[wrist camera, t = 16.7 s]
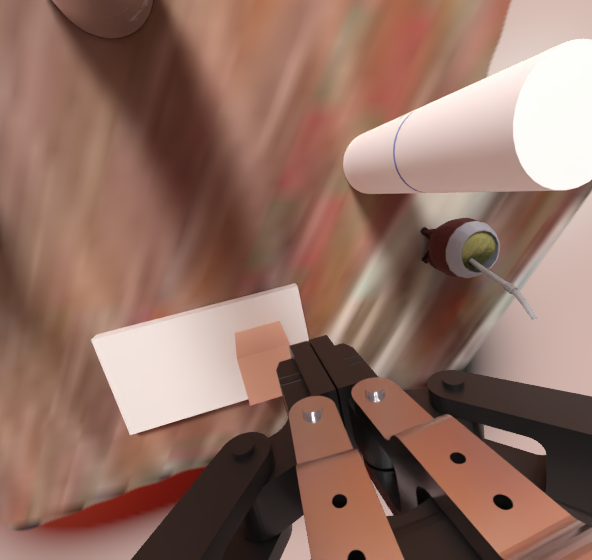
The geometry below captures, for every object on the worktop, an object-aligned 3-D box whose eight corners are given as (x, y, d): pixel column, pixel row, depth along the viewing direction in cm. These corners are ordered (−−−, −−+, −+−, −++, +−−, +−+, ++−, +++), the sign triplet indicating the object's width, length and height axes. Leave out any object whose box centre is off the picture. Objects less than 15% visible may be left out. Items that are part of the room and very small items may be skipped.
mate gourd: (435, 205, 44) (537, 209, 30) (474, 239, 47) (585, 259, 32) (401, 252, 45) (484, 278, 31) (440, 284, 47) (535, 321, 33)
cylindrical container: (331, 167, 40) (486, 124, 17) (369, 118, 40) (585, 2, 16) (372, 206, 42) (562, 218, 19) (409, 160, 42) (651, 113, 18)
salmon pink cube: (246, 373, 43) (250, 405, 36) (234, 333, 41) (236, 359, 34) (288, 360, 43) (300, 389, 37) (279, 320, 42) (289, 344, 35)
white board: (133, 427, 43) (130, 435, 41) (95, 334, 39) (91, 339, 38) (314, 372, 46) (317, 378, 45) (294, 283, 43) (297, 286, 41)
